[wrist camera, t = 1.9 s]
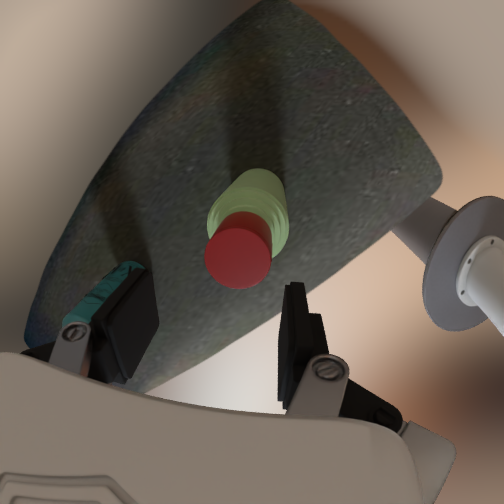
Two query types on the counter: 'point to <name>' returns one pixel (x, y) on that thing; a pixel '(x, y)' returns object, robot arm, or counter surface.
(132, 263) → the beverage bottle
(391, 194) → the counter surface
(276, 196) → the sauce bottle
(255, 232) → the cap
